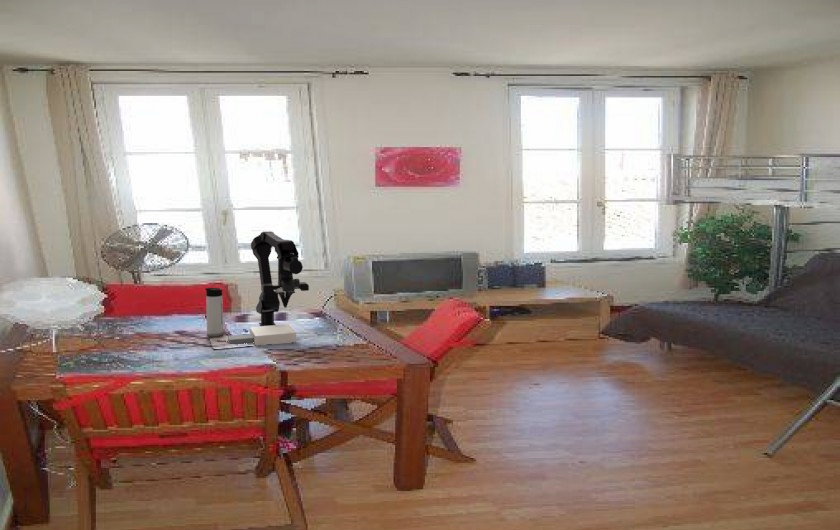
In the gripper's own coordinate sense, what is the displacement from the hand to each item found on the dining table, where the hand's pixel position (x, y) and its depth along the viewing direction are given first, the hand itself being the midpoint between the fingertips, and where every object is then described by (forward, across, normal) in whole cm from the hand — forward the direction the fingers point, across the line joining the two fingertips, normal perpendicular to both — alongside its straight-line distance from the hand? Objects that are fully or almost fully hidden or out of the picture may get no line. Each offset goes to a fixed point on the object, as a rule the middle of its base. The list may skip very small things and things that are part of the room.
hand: (285, 307), depth 220 cm
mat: (+12, -22, -4) cm, 25 cm away
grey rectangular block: (+12, -19, -5) cm, 22 cm away
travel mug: (+12, -27, +10) cm, 31 cm away
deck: (+12, -6, -4) cm, 14 cm away
